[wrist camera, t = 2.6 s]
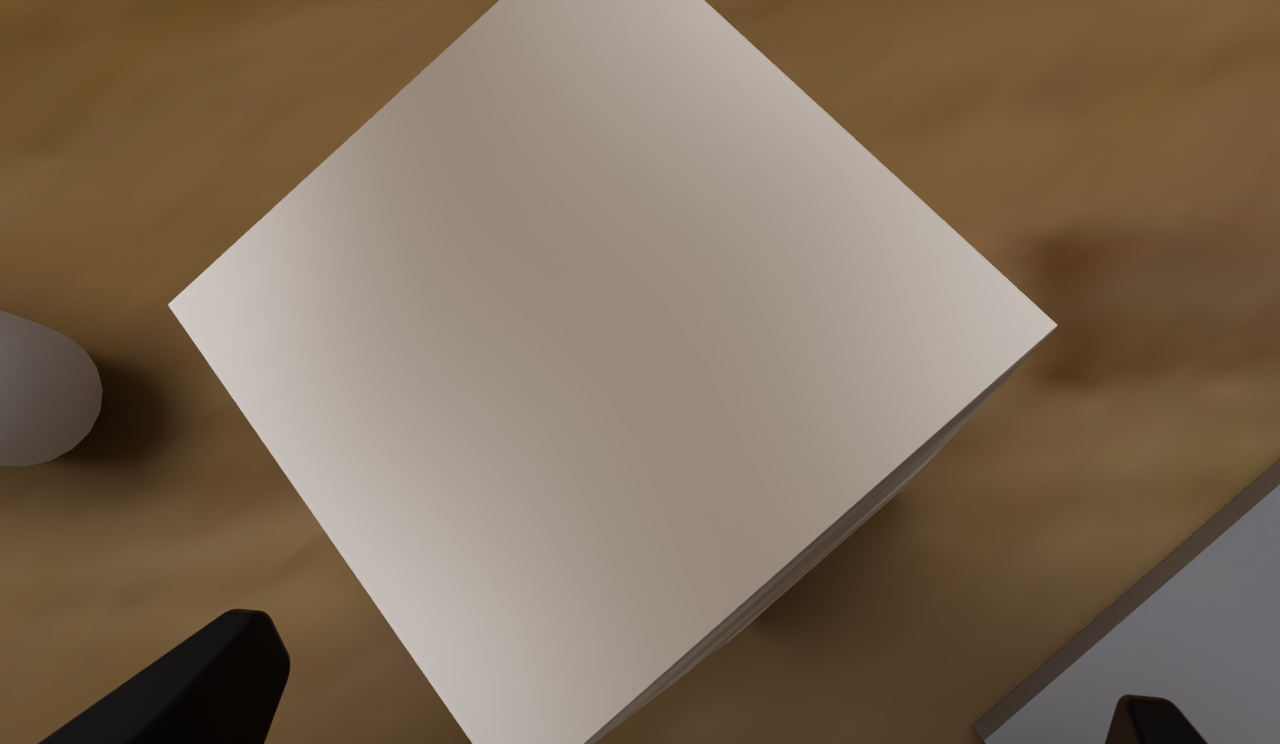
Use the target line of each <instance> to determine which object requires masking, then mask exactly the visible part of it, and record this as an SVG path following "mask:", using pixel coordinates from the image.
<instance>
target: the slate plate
mask: <svg viewBox="0 0 1280 744" xmlns="http://www.w3.org/2000/svg"><path fill="white" fill-rule="evenodd" d="M1128 694H1130V695H1141V696H1151V697H1161V698H1165V699H1167V700H1169V701H1171V702H1172V703H1174V704H1175V705H1176V706H1177V707H1178V708H1179V709H1180V711H1181V712H1182V713H1183V714H1184V715H1185V717H1186V718H1187V719H1188V720H1189V721H1190V723H1191V724H1192V725H1193V726H1194V727H1195V729H1196V730H1197V731H1198V732H1199V733H1200V735H1201V736H1202V737H1203V738H1204V739H1205V740H1206V742H1207V743H1208V744H1280V460H1278V461H1277V462H1276V463H1275V464H1274V465H1273V466H1272V467H1270V468H1269V469H1268V470H1267V471H1266V472H1265V473H1264V474H1262V475H1261V476H1260V477H1259V478H1258V479H1257V480H1255V481H1254V482H1253V483H1252V484H1251V485H1250V486H1249V487H1247V488H1246V489H1245V490H1244V491H1243V492H1242V493H1240V494H1239V495H1238V496H1237V497H1236V498H1235V499H1234V500H1232V501H1231V502H1230V503H1229V504H1228V505H1227V506H1226V507H1224V508H1223V509H1222V510H1221V511H1220V512H1219V513H1217V514H1216V515H1215V516H1214V517H1213V518H1212V519H1211V520H1209V521H1208V522H1207V523H1206V524H1205V525H1204V526H1203V527H1201V528H1200V529H1199V530H1198V531H1197V532H1196V533H1194V534H1193V535H1192V536H1191V537H1190V538H1189V539H1188V540H1186V541H1185V542H1184V543H1183V544H1182V545H1181V546H1179V547H1178V548H1177V549H1176V550H1175V551H1174V552H1173V553H1171V554H1170V555H1169V556H1168V557H1167V558H1166V559H1165V560H1163V561H1162V562H1161V563H1160V564H1159V565H1158V566H1156V567H1155V568H1154V569H1153V570H1152V571H1151V572H1150V573H1148V574H1147V575H1146V576H1145V577H1144V578H1143V579H1142V580H1140V581H1139V582H1138V583H1137V584H1136V585H1135V586H1133V587H1132V588H1131V589H1130V590H1129V591H1128V592H1127V593H1125V594H1124V595H1123V596H1122V597H1121V598H1120V599H1118V600H1117V601H1116V602H1115V603H1114V604H1113V605H1112V606H1110V607H1109V608H1108V609H1107V610H1106V611H1105V612H1104V613H1102V614H1101V615H1100V616H1099V617H1098V618H1097V619H1095V620H1094V621H1093V622H1092V623H1091V624H1090V625H1089V626H1087V627H1086V628H1085V629H1084V630H1083V631H1082V632H1081V633H1079V634H1078V635H1077V636H1076V637H1075V638H1074V639H1072V640H1071V641H1070V642H1069V643H1068V644H1067V645H1066V646H1064V647H1063V648H1062V649H1061V650H1060V651H1059V652H1057V653H1056V654H1055V655H1054V656H1053V657H1052V658H1051V659H1049V660H1048V661H1047V662H1046V663H1045V664H1044V665H1043V666H1041V667H1040V668H1039V669H1038V670H1037V671H1036V672H1034V673H1033V674H1032V675H1031V676H1030V677H1029V678H1028V679H1026V680H1025V681H1024V682H1023V683H1022V684H1021V685H1020V686H1018V687H1017V688H1016V689H1015V690H1014V691H1013V692H1011V693H1010V694H1009V695H1008V696H1007V697H1006V698H1005V699H1003V700H1002V701H1001V702H1000V703H999V704H998V705H996V706H995V707H994V708H993V709H992V710H991V711H990V712H988V713H987V714H986V715H985V716H984V717H983V718H982V719H980V720H979V721H978V722H977V723H976V724H975V725H973V726H972V727H973V728H974V729H975V731H976V732H977V733H978V734H979V736H980V737H981V738H982V740H983V741H984V742H985V743H986V744H1105V741H1106V738H1107V735H1108V731H1109V728H1110V725H1111V721H1112V718H1113V715H1114V711H1115V708H1116V705H1117V702H1118V700H1119V699H1120V698H1121V697H1122V696H1124V695H1128Z"/></svg>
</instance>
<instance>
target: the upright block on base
mask: <svg viewBox="0 0 1280 744" xmlns="http://www.w3.org/2000/svg"><path fill="white" fill-rule="evenodd" d="M168 306H169V307H170V308H171V310H172V311H173V313H174V314H175V316H176V317H177V318H178V320H179V321H180V323H181V324H182V326H183V327H184V329H185V330H186V331H187V333H188V334H189V336H190V337H191V339H192V340H193V342H194V343H195V344H196V346H197V347H198V349H199V350H200V352H201V353H202V355H203V356H204V357H205V359H206V360H207V362H208V363H209V365H210V366H211V368H212V369H213V370H214V372H215V373H216V375H217V376H218V378H219V379H220V380H221V382H222V383H223V385H224V386H225V388H226V389H227V391H228V392H229V393H230V395H231V396H232V398H233V399H234V401H235V402H236V404H237V405H238V406H239V408H240V409H241V411H242V412H243V414H244V415H245V417H246V418H247V419H248V421H249V422H250V424H251V425H252V427H253V428H254V430H255V431H256V432H257V434H258V435H259V437H260V438H261V440H262V441H263V442H264V444H265V445H266V447H267V448H268V450H269V451H270V453H271V454H272V455H273V457H274V458H275V460H276V461H277V463H278V464H279V466H280V467H281V468H282V470H283V471H284V473H285V474H286V476H287V477H288V479H289V480H290V481H291V483H292V484H293V486H294V487H295V489H296V490H297V491H298V493H299V494H300V496H301V497H302V499H303V500H304V502H305V503H306V504H307V506H308V507H309V509H310V510H311V512H312V513H313V515H314V516H315V517H316V519H317V520H318V522H319V523H320V525H321V526H322V528H323V529H324V530H325V532H326V533H327V535H328V536H329V538H330V539H331V541H332V542H333V543H334V545H335V546H336V548H337V549H338V551H339V552H340V553H341V555H342V556H343V558H344V559H345V561H346V562H347V564H348V565H349V566H350V568H351V569H352V571H353V572H354V574H355V575H356V577H357V578H358V579H359V581H360V582H361V584H362V585H363V587H364V588H365V590H366V591H367V592H368V594H369V595H370V597H371V598H372V600H373V601H374V603H375V604H376V605H377V607H378V608H379V610H380V611H381V613H382V614H383V615H384V617H385V618H386V620H387V621H388V623H389V624H390V626H391V627H392V628H393V630H394V631H395V633H396V634H397V636H398V637H399V639H400V640H401V641H402V643H403V644H404V646H405V647H406V649H407V650H408V652H409V653H410V654H411V656H412V657H413V659H414V660H415V662H416V663H417V665H418V666H419V667H420V669H421V670H422V672H423V673H424V675H425V676H426V677H427V679H428V680H429V682H430V683H431V685H432V686H433V688H434V689H435V690H436V692H437V693H438V695H439V696H440V698H441V699H442V701H443V702H444V703H445V705H446V706H447V708H448V709H449V711H450V712H451V714H452V715H453V716H454V718H455V719H456V721H457V722H458V724H459V725H460V726H461V728H462V729H463V731H464V732H465V734H466V735H467V737H468V738H469V739H470V741H471V742H472V744H595V743H596V742H597V741H599V740H600V739H601V738H602V737H604V736H605V735H606V734H608V733H609V732H610V731H612V730H613V729H614V728H616V727H617V726H618V725H619V724H621V723H622V722H623V721H625V720H626V719H627V718H629V717H630V716H631V715H633V714H634V713H635V712H637V711H638V710H639V709H640V708H642V707H643V706H644V705H646V704H647V703H648V702H650V701H651V700H652V699H654V698H655V697H656V696H657V695H659V694H660V693H661V692H663V691H664V690H665V689H667V688H668V687H669V686H671V685H672V684H673V683H674V682H676V681H677V680H678V679H680V678H681V677H682V676H684V675H685V674H686V673H688V672H689V671H690V670H692V669H693V668H694V667H695V666H697V665H698V664H699V663H701V662H702V661H703V660H705V659H706V658H707V657H709V656H710V655H711V654H712V653H714V652H715V651H716V650H718V649H719V648H720V647H722V646H723V645H724V644H726V643H727V642H728V641H729V640H731V639H732V638H733V637H735V636H736V635H737V634H739V633H740V632H741V631H742V630H743V629H744V628H746V627H747V626H748V625H749V624H750V623H751V622H752V621H754V620H755V619H756V618H757V617H758V616H759V615H760V614H761V613H763V612H764V611H765V610H766V609H767V608H768V607H769V606H771V605H772V604H773V603H774V602H775V601H776V600H777V599H778V598H780V597H781V596H782V595H783V594H784V593H785V592H786V591H788V590H789V589H790V588H791V587H792V586H793V585H794V584H795V583H797V582H798V581H799V580H800V579H801V578H802V577H803V576H805V575H806V574H807V573H808V572H809V571H810V570H811V569H813V568H814V567H815V566H816V565H817V564H818V563H819V562H820V561H822V560H823V559H824V558H825V557H826V556H827V555H828V554H830V553H831V552H832V551H833V550H834V549H835V548H836V547H837V546H839V545H840V544H841V543H842V542H843V541H844V540H845V539H847V538H848V537H849V536H850V535H851V534H852V533H853V532H854V531H856V530H857V529H858V528H859V527H860V526H861V525H862V524H864V523H865V522H866V521H867V520H868V519H869V518H870V517H871V516H873V515H874V514H875V513H876V512H877V511H878V510H879V509H881V508H882V507H883V506H884V505H885V504H886V503H887V502H888V501H890V500H891V499H892V498H893V497H894V496H895V495H896V494H898V493H899V492H900V491H901V490H902V489H903V488H904V487H906V486H907V484H908V483H909V482H910V481H911V480H912V479H913V478H914V477H915V476H916V475H917V474H918V473H919V472H920V471H921V470H922V469H923V467H924V466H925V465H926V464H927V463H928V462H929V461H930V460H931V459H932V458H933V457H934V456H935V455H936V454H937V453H938V452H939V451H940V449H941V448H942V447H943V446H944V445H945V444H946V443H947V442H948V441H949V440H950V439H951V438H952V437H953V436H954V435H955V434H956V432H957V431H958V430H959V429H960V428H961V427H962V426H963V425H964V424H965V423H966V422H967V421H968V420H969V419H970V418H971V417H972V416H973V414H974V413H975V412H976V411H977V410H978V409H979V408H980V407H981V406H982V405H983V404H984V403H985V402H986V401H987V400H988V399H989V397H990V396H991V395H992V394H993V393H994V392H995V391H996V390H997V389H998V388H999V387H1000V386H1001V385H1002V384H1003V383H1004V382H1005V380H1006V379H1007V378H1008V377H1009V376H1010V375H1011V374H1012V373H1013V372H1014V371H1015V370H1016V369H1017V368H1018V367H1019V366H1020V365H1021V364H1022V362H1023V361H1024V360H1025V359H1026V358H1027V357H1028V356H1029V355H1030V354H1031V353H1032V352H1033V351H1034V350H1035V349H1036V348H1037V347H1038V345H1039V344H1040V343H1041V342H1042V341H1043V340H1044V339H1045V338H1046V337H1047V336H1048V335H1049V334H1050V333H1051V332H1052V331H1053V330H1054V328H1055V327H1056V326H1057V324H1056V323H1055V322H1053V321H1052V320H1051V319H1050V318H1049V317H1048V316H1047V315H1046V314H1045V313H1044V312H1043V311H1041V310H1040V309H1039V308H1038V307H1037V306H1036V305H1035V304H1034V303H1033V302H1032V301H1031V300H1030V299H1028V298H1027V297H1026V296H1025V295H1024V294H1023V293H1022V292H1021V291H1020V290H1019V289H1018V288H1016V287H1015V286H1014V285H1013V284H1012V283H1011V282H1010V281H1009V280H1008V279H1007V278H1006V277H1004V276H1003V275H1002V274H1001V273H1000V272H999V271H998V270H997V269H996V268H995V267H994V266H993V265H991V264H990V263H989V262H988V261H987V260H986V259H985V258H984V257H983V256H982V255H981V254H979V253H978V252H977V251H976V250H975V249H974V248H973V247H972V246H971V245H970V244H969V243H967V242H966V241H965V240H964V239H963V238H962V237H961V236H960V235H959V234H958V233H957V232H956V231H954V230H953V229H952V228H951V227H950V226H949V225H948V224H947V223H946V222H945V221H944V220H942V219H941V218H940V217H939V216H938V215H937V214H936V213H935V212H934V211H933V210H932V209H931V208H929V207H928V206H927V205H926V204H925V203H924V202H923V201H922V200H921V199H920V198H919V197H917V196H916V195H915V194H914V193H913V192H912V191H911V190H910V189H909V188H908V187H907V186H905V185H904V184H903V183H902V182H901V181H900V180H899V179H898V178H897V177H896V176H895V175H894V174H892V173H891V172H890V171H889V170H888V169H887V168H886V167H885V166H884V165H883V164H882V163H880V162H879V161H878V160H877V159H876V158H875V157H874V156H873V155H872V154H871V153H870V152H869V151H867V150H866V149H865V148H864V147H863V146H862V145H861V144H860V143H859V142H858V141H857V140H855V139H854V138H853V137H852V136H851V135H850V134H849V133H848V132H847V131H846V130H845V129H843V128H842V127H841V126H840V125H839V124H838V123H837V122H836V121H835V120H834V119H833V118H832V117H830V116H829V115H828V114H827V113H826V112H825V111H824V110H823V109H822V108H821V107H820V106H818V105H817V104H816V103H815V102H814V101H813V100H812V99H811V98H810V97H809V96H808V95H807V94H805V93H804V92H803V91H802V90H801V89H800V88H799V87H798V86H797V85H796V84H795V83H793V82H792V81H791V80H790V79H789V78H788V77H787V76H786V75H785V74H784V73H783V72H781V71H780V70H779V69H778V68H777V67H776V66H775V65H774V64H773V63H772V62H771V61H770V60H768V59H767V58H766V57H765V56H764V55H763V54H762V53H761V52H760V51H759V50H758V49H756V48H755V47H754V46H753V45H752V44H751V43H750V42H749V41H748V40H747V39H746V38H745V37H743V36H742V35H741V34H740V33H739V32H738V31H737V30H736V29H735V28H734V27H733V26H731V25H730V24H729V23H728V22H727V21H726V20H725V19H724V18H723V17H722V16H721V15H719V14H718V13H717V12H716V11H715V10H714V9H713V8H712V7H711V6H710V5H709V4H708V3H706V2H705V1H704V0H499V1H498V2H497V3H496V4H495V5H494V6H493V7H492V8H491V9H490V10H488V11H487V12H486V13H485V14H484V15H483V16H482V17H481V18H480V19H479V20H478V21H476V22H475V23H474V24H473V25H472V26H471V27H470V28H469V29H468V30H467V31H466V32H464V33H463V34H462V35H461V36H460V37H459V38H458V39H457V40H456V41H455V42H454V43H452V44H451V45H450V46H449V47H448V48H447V49H446V50H445V51H444V52H443V53H442V54H441V55H439V56H438V57H437V58H436V59H435V60H434V61H433V62H432V63H431V64H430V65H429V66H427V67H426V68H425V69H424V70H423V71H422V72H421V73H420V74H419V75H418V76H417V77H415V78H414V79H413V80H412V81H411V82H410V83H409V84H408V85H407V86H406V87H405V88H403V89H402V90H401V91H400V92H399V93H398V94H397V95H396V96H395V97H394V98H393V99H391V100H390V101H389V102H388V103H387V104H386V105H385V106H384V107H383V108H382V109H381V110H380V111H378V112H377V113H376V114H375V115H374V116H373V117H372V118H371V119H370V120H369V121H368V122H366V123H365V124H364V125H363V126H362V127H361V128H360V129H359V130H358V131H357V132H356V133H354V134H353V135H352V136H351V137H350V138H349V139H348V140H347V141H346V142H345V143H344V144H342V145H341V146H340V147H339V148H338V149H337V150H336V151H335V152H334V153H333V154H332V155H330V156H329V157H328V158H327V159H326V160H325V161H324V162H323V163H322V164H321V165H320V166H319V167H317V168H316V169H315V170H314V171H313V172H312V173H311V174H310V175H309V176H308V177H307V178H305V179H304V180H303V181H302V182H301V183H300V184H299V185H298V186H297V187H296V188H295V189H293V190H292V191H291V192H290V193H289V194H288V195H287V196H286V197H285V198H284V199H283V200H281V201H280V202H279V203H278V204H277V205H276V206H275V207H274V208H273V209H272V210H271V211H269V212H268V213H267V214H266V215H265V216H264V217H263V218H262V219H261V220H260V221H259V222H258V223H256V224H255V225H254V226H253V227H252V228H251V229H250V230H249V231H248V232H247V233H246V234H244V235H243V236H242V237H241V238H240V239H239V240H238V241H237V242H236V243H235V244H234V245H232V246H231V247H230V248H229V249H228V250H227V251H226V252H225V253H224V254H223V255H222V256H220V257H219V258H218V259H217V260H216V261H215V262H214V263H213V264H212V265H211V266H210V267H208V268H207V269H206V270H205V271H204V272H203V273H202V274H201V275H200V276H199V277H198V278H196V279H195V280H194V281H193V282H192V283H191V284H190V285H189V286H188V287H187V288H186V289H185V290H183V291H182V292H181V293H180V294H179V295H178V296H177V297H176V298H175V299H174V300H173V301H171V302H170V303H169V304H168Z"/></svg>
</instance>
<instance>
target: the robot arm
mask: <svg viewBox="0 0 1280 744" xmlns="http://www.w3.org/2000/svg"><path fill="white" fill-rule="evenodd" d="M289 672H290V657H289V654H288V652H287V650H286V648H285V646H284V644H283V642H282V640H281V638H280V635H279V633H278V631H277V629H276V627H275V625H274V623H273V621H272V619H271V618H270V616H269V615H268V614H267V613H265V612H263V611H258V610H247V609H233V610H229V611H227V612H225V613H224V614H222V615H221V616H219V617H218V618H216V619H215V620H213V621H212V622H211V623H209V624H208V625H206V626H205V627H203V628H202V629H201V630H199V631H198V632H196V633H195V634H193V635H192V636H191V637H189V638H188V639H186V640H185V641H183V642H182V643H181V644H179V645H178V646H176V647H175V648H173V649H172V650H171V651H169V652H168V653H166V654H165V655H164V656H162V657H161V658H159V659H158V660H156V661H155V662H154V663H152V664H151V665H149V666H148V667H146V668H145V669H144V670H142V671H141V672H139V673H138V674H136V675H135V676H134V677H132V678H131V679H129V680H128V681H126V682H125V683H124V684H122V685H121V686H119V687H118V688H116V689H115V690H114V691H112V692H111V693H109V694H108V695H106V696H105V697H104V698H102V699H101V700H99V701H98V702H96V703H95V704H94V705H92V706H91V707H89V708H88V709H87V710H85V711H84V712H82V713H81V714H79V715H78V716H77V717H75V718H74V719H72V720H71V721H69V722H68V723H67V724H65V725H64V726H62V727H61V728H59V729H58V730H57V731H55V732H54V733H52V734H51V735H49V736H48V737H47V738H45V739H44V740H42V741H41V742H39V743H38V744H264V742H265V739H266V737H267V734H268V731H269V729H270V726H271V723H272V721H273V718H274V715H275V712H276V710H277V707H278V704H279V702H280V699H281V696H282V693H283V691H284V688H285V685H286V683H287V680H288V676H289ZM1105 744H1208V743H1207V742H1206V740H1205V739H1204V738H1203V737H1202V736H1201V735H1200V733H1199V732H1198V731H1197V730H1196V729H1195V727H1194V726H1193V725H1192V724H1191V723H1190V721H1189V720H1188V719H1187V718H1186V717H1185V715H1184V714H1183V713H1182V712H1181V711H1180V709H1179V708H1178V707H1177V706H1176V705H1175V704H1174V703H1172V702H1171V701H1169V700H1167V699H1165V698H1161V697H1151V696H1141V695H1130V694H1128V695H1124V696H1122V697H1121V698H1120V699H1119V700H1118V702H1117V705H1116V708H1115V711H1114V715H1113V718H1112V721H1111V725H1110V728H1109V731H1108V735H1107V738H1106V741H1105Z"/></svg>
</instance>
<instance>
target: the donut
mask: <svg viewBox="0 0 1280 744" xmlns="http://www.w3.org/2000/svg"><path fill="white" fill-rule="evenodd" d="M102 392H103V389H102V385H101V381H100V377H99V373H98V369H97V367H96V366H95V364H94V363H93V361H92V360H91V358H90V357H89V355H88V354H87V352H86V351H85V350H84V349H83V348H82V347H80V346H79V345H78V344H77V343H75V342H74V341H73V340H71V339H70V338H69V337H67V336H66V335H64V334H62V333H60V332H57V331H55V330H53V329H51V328H48V327H46V326H43V325H41V324H38V323H35V322H33V321H30V320H27V319H25V318H22V317H19V316H16V315H13V314H10V313H7V312H4V311H1V310H0V466H16V467H26V466H30V465H35V464H39V463H44V462H48V461H51V460H53V459H55V458H57V457H59V456H60V455H62V454H64V453H66V452H68V451H70V450H72V449H73V448H74V447H75V446H76V445H77V444H78V443H79V442H80V441H81V440H82V439H83V438H84V437H85V436H86V435H87V434H88V433H89V432H90V431H91V429H92V427H93V425H94V423H95V421H96V419H97V417H98V415H99V413H100V409H101V401H102Z"/></svg>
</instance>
